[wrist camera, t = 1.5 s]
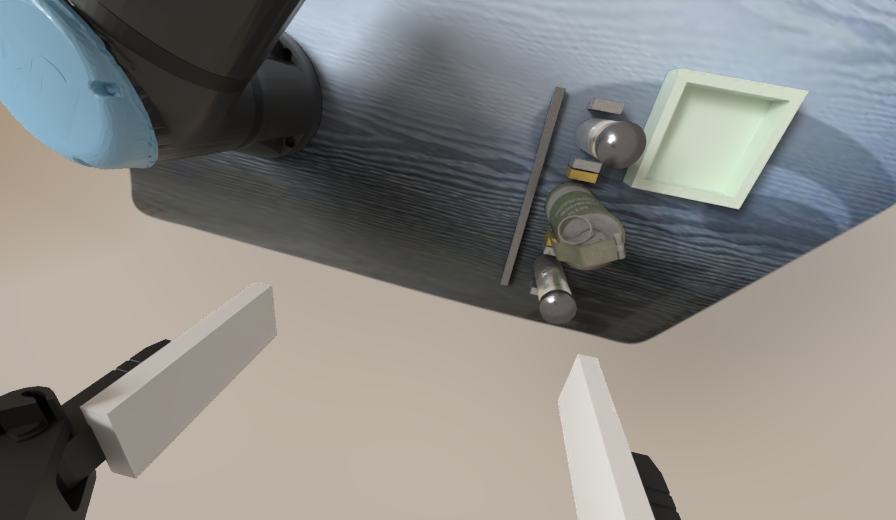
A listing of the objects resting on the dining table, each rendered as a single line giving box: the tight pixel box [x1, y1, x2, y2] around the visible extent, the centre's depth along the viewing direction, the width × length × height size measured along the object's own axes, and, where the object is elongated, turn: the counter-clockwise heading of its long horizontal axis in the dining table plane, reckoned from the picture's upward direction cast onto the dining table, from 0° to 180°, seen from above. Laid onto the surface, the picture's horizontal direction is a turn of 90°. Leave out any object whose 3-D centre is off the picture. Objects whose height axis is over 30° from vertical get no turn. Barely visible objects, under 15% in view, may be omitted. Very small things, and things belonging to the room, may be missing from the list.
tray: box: [623, 68, 808, 209], centre depth 35 cm, size 12×12×3 cm
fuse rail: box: [500, 87, 646, 324], centre depth 37 cm, size 7×25×11 cm, turn 170°
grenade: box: [544, 182, 626, 270], centre depth 35 cm, size 6×6×15 cm
